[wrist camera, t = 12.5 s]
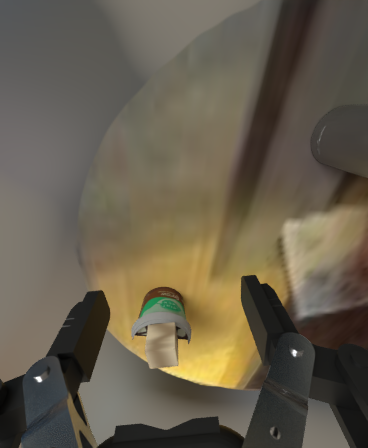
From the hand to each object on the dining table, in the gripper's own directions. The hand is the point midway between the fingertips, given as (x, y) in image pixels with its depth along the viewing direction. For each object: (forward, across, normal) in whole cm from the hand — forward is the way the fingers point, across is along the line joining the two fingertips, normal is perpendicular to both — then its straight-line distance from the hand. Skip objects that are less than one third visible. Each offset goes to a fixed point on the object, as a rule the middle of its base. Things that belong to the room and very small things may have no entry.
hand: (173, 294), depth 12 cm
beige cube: (+18, +6, +27) cm, 33 cm away
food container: (+28, +6, +27) cm, 40 cm away
